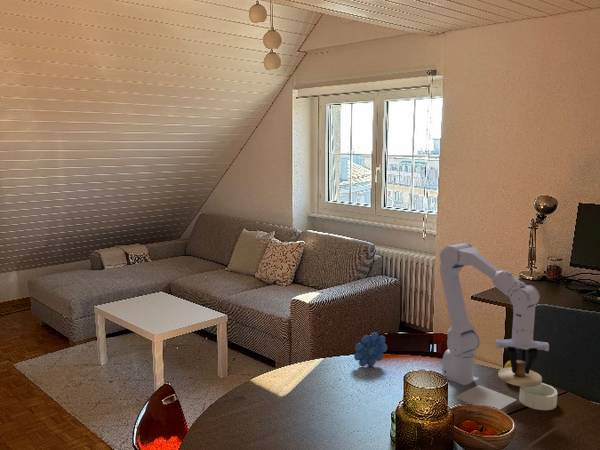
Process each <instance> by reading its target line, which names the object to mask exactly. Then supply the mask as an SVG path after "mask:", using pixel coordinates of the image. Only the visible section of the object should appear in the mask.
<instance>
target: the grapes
mask: <svg viewBox="0 0 600 450" xmlns="http://www.w3.org/2000/svg"><path fill="white" fill-rule="evenodd" d="M360 341H361V342H358V343H356V345H355V347H354V349H355V353H354V356H353V358H354V361H358V364H359V366H360V367H366V365H367V366H368V367H373V366H374V365H375V364H376V362H380V361H382V360H383V358H384V353H385V352H386V351H387V350H388V344H387V343H385V342H386V337H385V336H384V335H379V333H378V332H375V331H374V332H371V334H370V335H368V334H365V335H363V336H362V337H361V340H360Z"/></svg>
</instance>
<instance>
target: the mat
mask: <svg viewBox="0 0 600 450" xmlns="http://www.w3.org/2000/svg"><path fill="white" fill-rule="evenodd" d="M454 398H455V399H457V400H460V401H462V402H464V403H466V404H469V405H471V404H482V405H487V406H491V407H495V408H497V409H499V411H501V410H502V409H505V408H506V407H507V406H509V405H510V404H512V403H514V402H516V401H518V399H516V398H514V397H512V396H508V395H507V394H505V393H500V392H498V391H496V390H493V389H490V388H488V387H485V386H483V385H479V384H478V385H476V386H474V387H471V388H469V389H467V390H465V391H463V392H461V393H459V394H457V395H456V396H454Z"/></svg>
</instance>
